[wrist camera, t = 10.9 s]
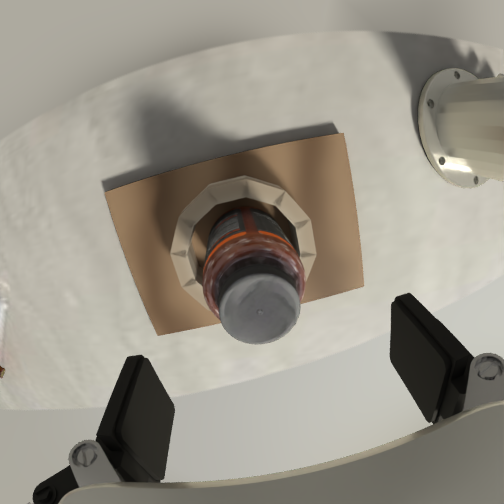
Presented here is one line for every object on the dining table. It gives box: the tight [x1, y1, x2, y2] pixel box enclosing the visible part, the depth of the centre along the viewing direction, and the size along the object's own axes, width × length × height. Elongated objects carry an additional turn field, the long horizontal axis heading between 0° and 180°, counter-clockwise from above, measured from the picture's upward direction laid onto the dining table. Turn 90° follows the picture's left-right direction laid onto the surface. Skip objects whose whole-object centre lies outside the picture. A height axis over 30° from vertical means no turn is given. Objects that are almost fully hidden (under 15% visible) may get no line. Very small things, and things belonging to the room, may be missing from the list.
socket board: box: [105, 133, 364, 336], centre depth 24 cm, size 20×14×4 cm
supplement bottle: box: [202, 207, 306, 344], centre depth 20 cm, size 6×6×11 cm
